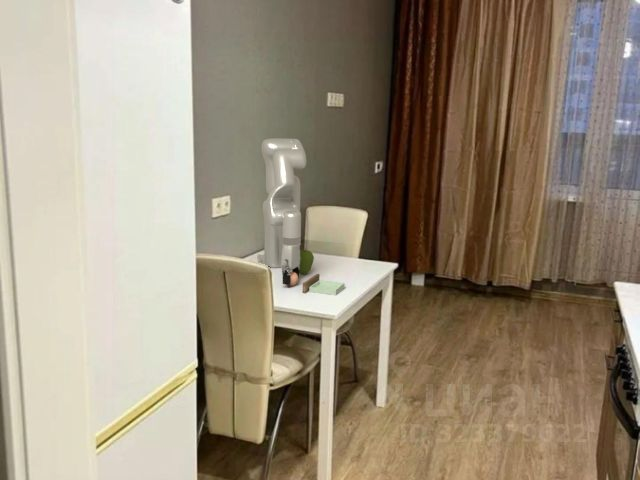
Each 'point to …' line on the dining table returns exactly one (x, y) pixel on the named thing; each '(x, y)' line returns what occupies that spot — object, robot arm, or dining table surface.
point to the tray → (326, 287)
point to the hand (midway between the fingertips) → (291, 281)
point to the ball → (293, 278)
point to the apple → (305, 261)
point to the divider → (310, 283)
